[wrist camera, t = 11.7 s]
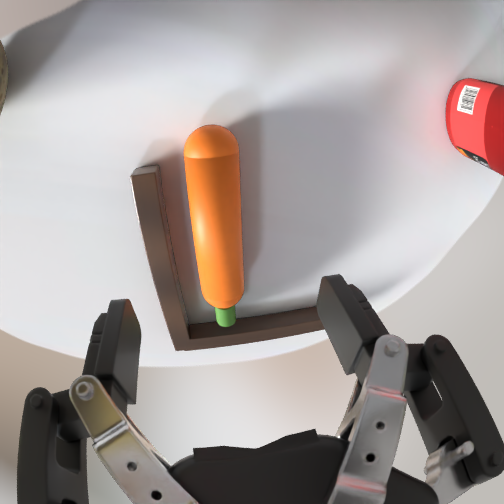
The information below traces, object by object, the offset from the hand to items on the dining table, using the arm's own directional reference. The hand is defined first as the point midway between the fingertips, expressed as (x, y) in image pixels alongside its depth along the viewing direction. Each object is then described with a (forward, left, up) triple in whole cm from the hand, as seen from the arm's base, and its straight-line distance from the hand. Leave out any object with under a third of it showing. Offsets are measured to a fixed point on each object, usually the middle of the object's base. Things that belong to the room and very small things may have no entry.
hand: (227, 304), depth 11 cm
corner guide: (+4, +3, -9) cm, 11 cm away
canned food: (-9, +23, -10) cm, 27 cm away
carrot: (+1, 0, -9) cm, 9 cm away
